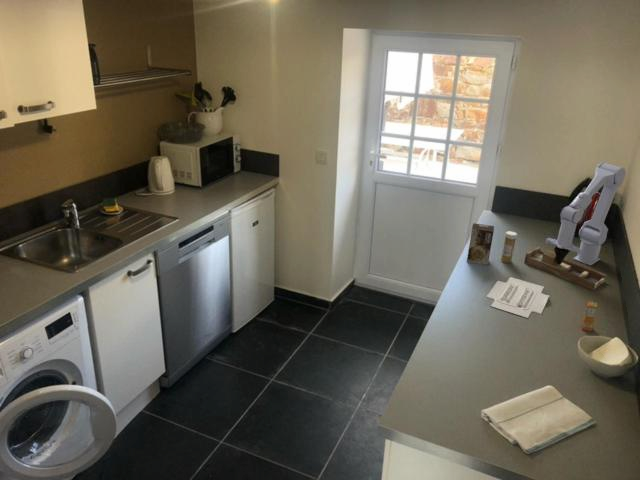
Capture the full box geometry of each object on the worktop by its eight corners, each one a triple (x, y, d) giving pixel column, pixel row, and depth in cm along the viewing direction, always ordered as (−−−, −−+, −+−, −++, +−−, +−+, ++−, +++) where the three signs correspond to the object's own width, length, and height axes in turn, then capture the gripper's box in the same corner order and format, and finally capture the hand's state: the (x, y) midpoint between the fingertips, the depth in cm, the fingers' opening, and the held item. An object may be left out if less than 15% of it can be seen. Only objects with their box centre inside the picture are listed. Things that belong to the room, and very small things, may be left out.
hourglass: (581, 324, 190) (588, 300, 186) (591, 327, 189) (598, 303, 185) (580, 329, 188) (587, 305, 183) (591, 332, 186) (598, 307, 182)
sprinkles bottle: (513, 261, 234) (519, 233, 229) (506, 264, 232) (512, 236, 226) (505, 257, 238) (510, 230, 232) (498, 259, 235) (503, 232, 230)
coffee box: (488, 259, 235) (495, 225, 229) (487, 265, 230) (494, 231, 223) (467, 255, 238) (473, 222, 231) (466, 261, 232) (471, 227, 226)
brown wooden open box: (536, 255, 241) (538, 246, 239) (604, 281, 220) (607, 272, 219) (524, 262, 234) (526, 253, 232) (592, 290, 214) (595, 280, 212)
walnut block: (546, 258, 234) (548, 250, 232) (557, 262, 230) (559, 254, 229) (541, 261, 231) (543, 253, 229) (552, 266, 227) (554, 257, 226)
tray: (481, 305, 201) (482, 297, 199) (500, 278, 223) (502, 270, 222) (537, 323, 191) (539, 314, 190) (551, 293, 213) (554, 285, 212)
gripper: (545, 231, 224) (538, 259, 230) (579, 242, 215) (571, 272, 220) (553, 227, 229) (546, 255, 234) (586, 238, 219) (578, 267, 225)
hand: (558, 263), depth 228 cm, fingers closed
